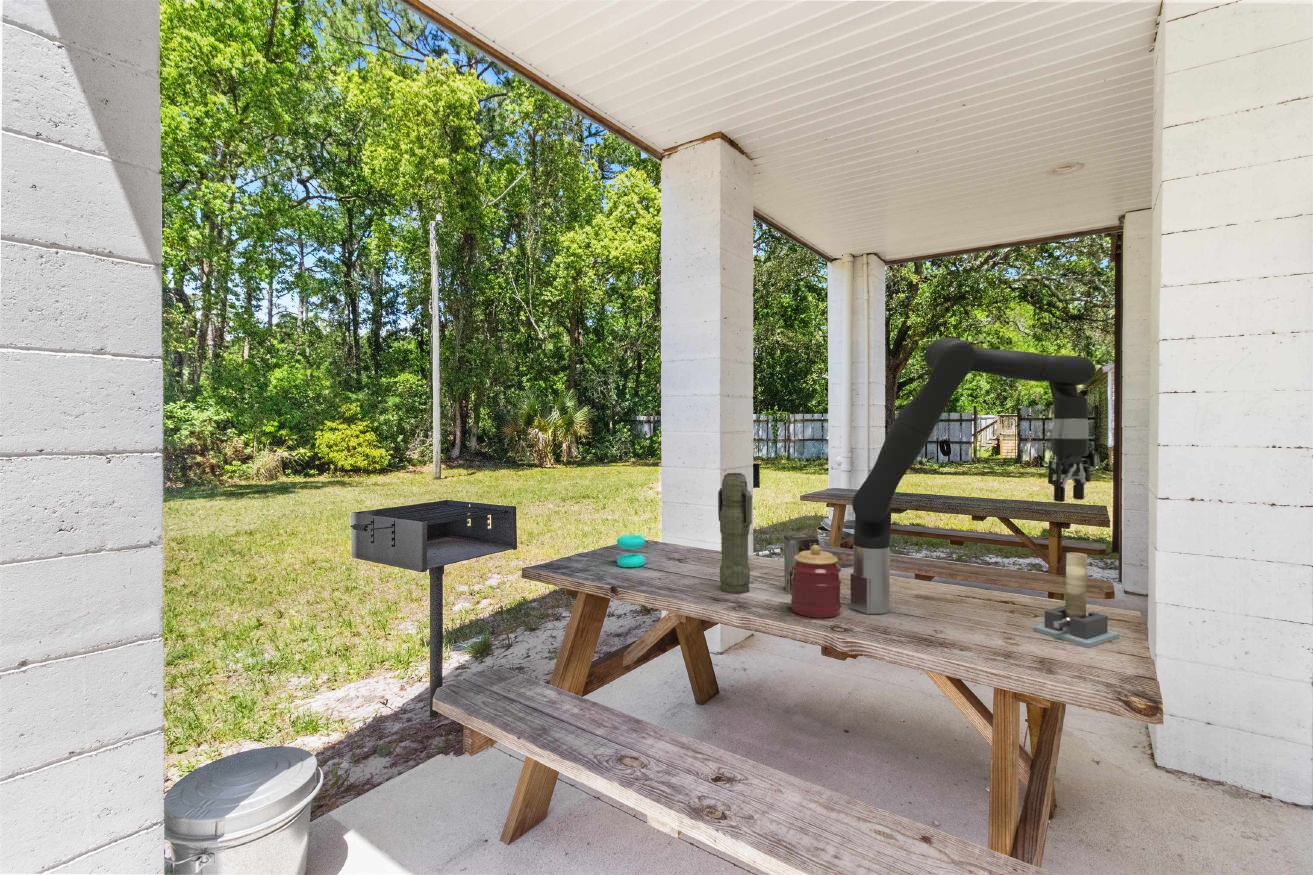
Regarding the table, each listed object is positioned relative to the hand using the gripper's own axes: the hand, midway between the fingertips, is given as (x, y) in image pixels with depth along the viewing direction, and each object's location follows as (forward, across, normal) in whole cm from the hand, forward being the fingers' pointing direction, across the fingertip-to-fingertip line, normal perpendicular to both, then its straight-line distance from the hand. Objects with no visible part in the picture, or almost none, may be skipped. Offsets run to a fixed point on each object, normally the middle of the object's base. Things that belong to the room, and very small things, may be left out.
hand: (1069, 500), depth 150 cm
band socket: (+30, -11, -8) cm, 33 cm away
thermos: (+30, -61, +60) cm, 91 cm away
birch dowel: (+29, -11, -7) cm, 32 cm away
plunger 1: (+28, -16, -7) cm, 33 cm away
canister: (+30, -53, +34) cm, 70 cm away
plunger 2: (+28, -5, -7) cm, 29 cm away
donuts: (+30, -76, +102) cm, 131 cm away
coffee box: (+30, -44, +50) cm, 73 cm away
